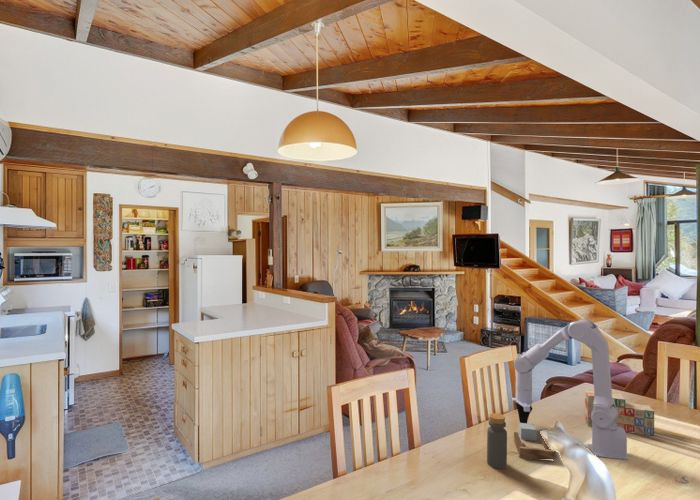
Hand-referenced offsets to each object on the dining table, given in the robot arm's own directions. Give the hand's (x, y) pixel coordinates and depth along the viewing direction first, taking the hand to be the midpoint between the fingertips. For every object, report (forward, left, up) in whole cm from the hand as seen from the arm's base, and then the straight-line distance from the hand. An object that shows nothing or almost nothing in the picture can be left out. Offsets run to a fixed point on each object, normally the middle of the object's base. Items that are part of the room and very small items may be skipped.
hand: (523, 423), depth 157 cm
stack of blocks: (-35, -9, -2) cm, 37 cm away
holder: (0, +18, -1) cm, 18 cm away
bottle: (+13, +31, -2) cm, 34 cm away
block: (0, +8, -2) cm, 8 cm away
